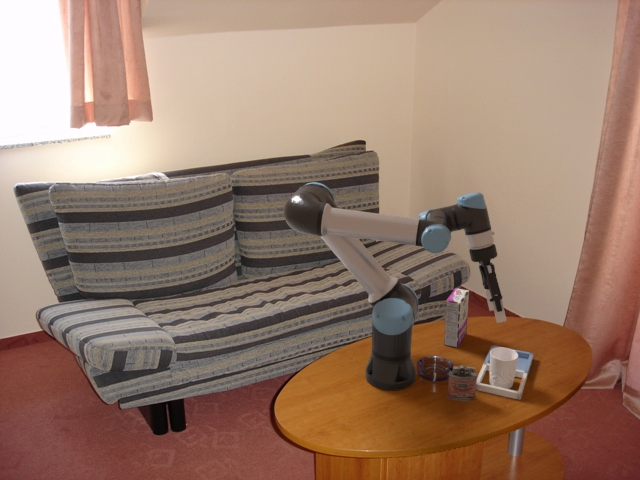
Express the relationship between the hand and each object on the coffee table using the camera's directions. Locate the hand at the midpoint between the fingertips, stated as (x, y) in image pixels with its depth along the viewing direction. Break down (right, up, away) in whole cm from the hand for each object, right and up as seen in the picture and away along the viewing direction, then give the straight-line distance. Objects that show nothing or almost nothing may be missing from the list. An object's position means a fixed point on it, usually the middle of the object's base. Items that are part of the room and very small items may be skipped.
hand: (497, 315), depth 189 cm
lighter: (-12, -23, -5) cm, 26 cm away
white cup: (+1, -20, +2) cm, 21 cm away
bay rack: (+4, -18, +7) cm, 20 cm away
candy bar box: (-7, -11, +27) cm, 30 cm away
